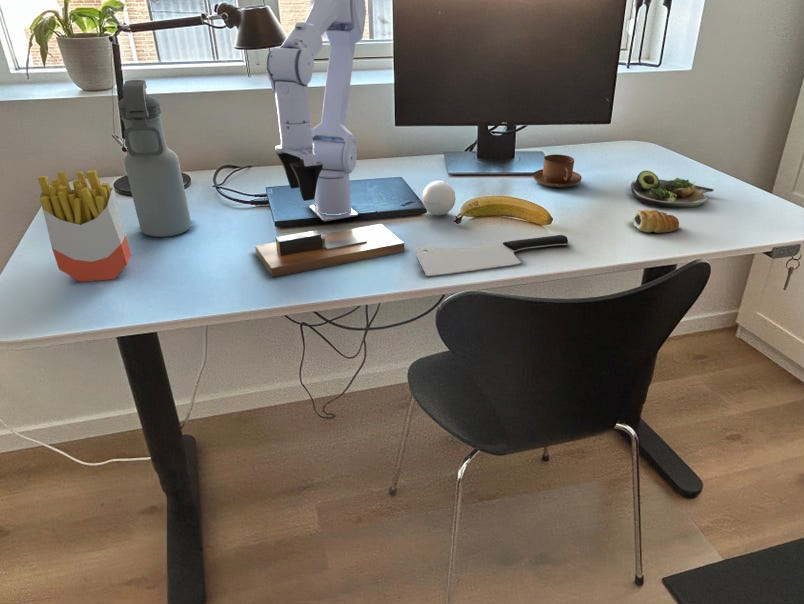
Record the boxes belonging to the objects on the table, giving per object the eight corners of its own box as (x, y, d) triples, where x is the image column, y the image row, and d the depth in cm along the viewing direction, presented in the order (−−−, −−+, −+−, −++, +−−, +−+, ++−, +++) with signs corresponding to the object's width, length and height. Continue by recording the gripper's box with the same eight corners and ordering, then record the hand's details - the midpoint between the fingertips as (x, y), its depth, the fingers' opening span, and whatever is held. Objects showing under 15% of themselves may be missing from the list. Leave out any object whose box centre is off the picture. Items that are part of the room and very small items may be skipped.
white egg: (447, 206, 149) (448, 174, 145) (460, 218, 143) (461, 184, 139) (405, 211, 146) (405, 179, 142) (417, 223, 140) (417, 190, 136)
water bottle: (191, 236, 132) (161, 88, 116) (139, 241, 129) (100, 90, 114) (192, 218, 140) (164, 77, 124) (143, 222, 137) (108, 79, 122)
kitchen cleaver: (426, 272, 118) (412, 244, 125) (426, 280, 119) (412, 252, 126) (582, 254, 126) (560, 229, 134) (581, 262, 127) (559, 237, 135)
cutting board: (256, 254, 125) (254, 245, 124) (381, 231, 136) (381, 223, 135) (272, 277, 117) (271, 268, 116) (404, 251, 128) (404, 242, 127)
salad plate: (703, 186, 165) (707, 167, 163) (723, 211, 150) (728, 191, 148) (625, 182, 166) (628, 164, 164) (638, 207, 151) (641, 188, 149)
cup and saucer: (590, 186, 163) (594, 161, 160) (554, 194, 158) (557, 168, 154) (558, 173, 172) (560, 149, 168) (522, 180, 166) (524, 156, 162)
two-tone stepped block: (276, 251, 122) (275, 237, 121) (360, 236, 129) (359, 222, 128) (282, 258, 120) (280, 244, 118) (367, 242, 127) (366, 228, 125)
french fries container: (129, 278, 116) (102, 177, 106) (62, 283, 113) (28, 181, 104) (134, 267, 119) (108, 169, 109) (69, 272, 117) (37, 172, 107)
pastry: (671, 222, 144) (675, 205, 142) (683, 234, 138) (687, 217, 136) (629, 222, 143) (632, 205, 141) (639, 234, 138) (643, 217, 136)
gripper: (262, 113, 123) (271, 185, 130) (285, 132, 112) (293, 208, 120) (298, 110, 126) (305, 180, 133) (324, 127, 115) (330, 202, 123)
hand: (302, 193), depth 127 cm, fingers open, 7 cm apart
